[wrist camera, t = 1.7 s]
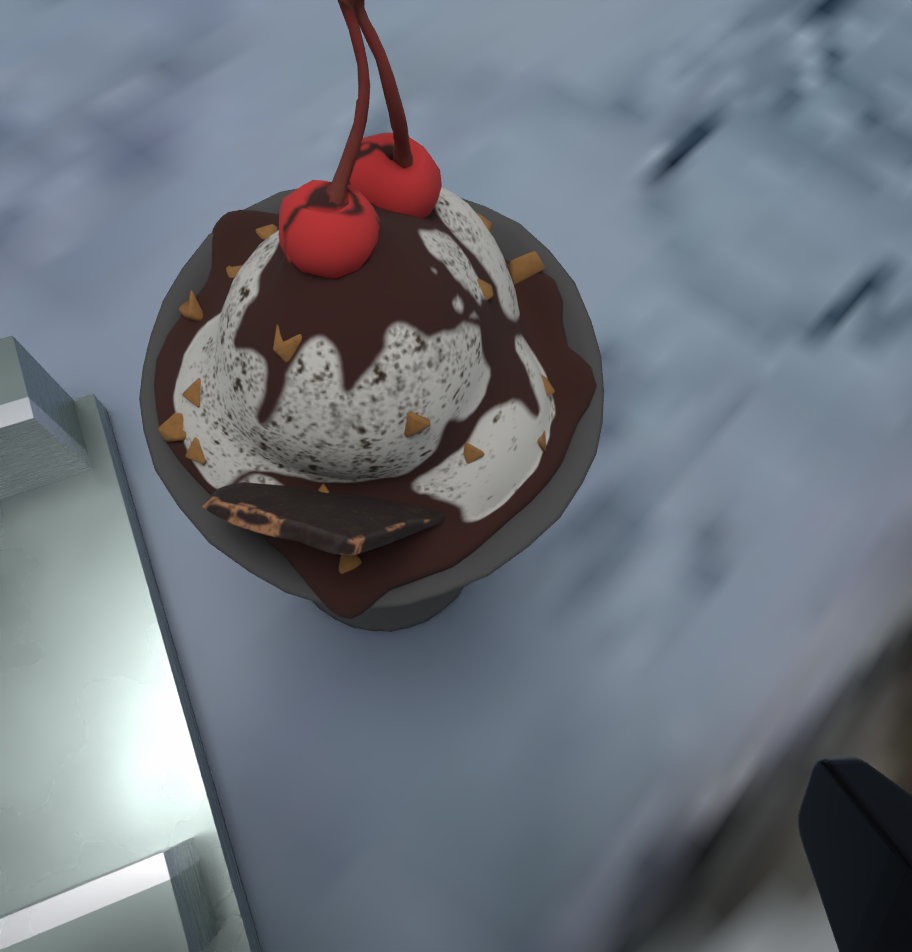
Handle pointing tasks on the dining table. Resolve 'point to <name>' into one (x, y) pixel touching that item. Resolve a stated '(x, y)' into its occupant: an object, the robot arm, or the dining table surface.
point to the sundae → (372, 382)
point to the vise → (95, 706)
